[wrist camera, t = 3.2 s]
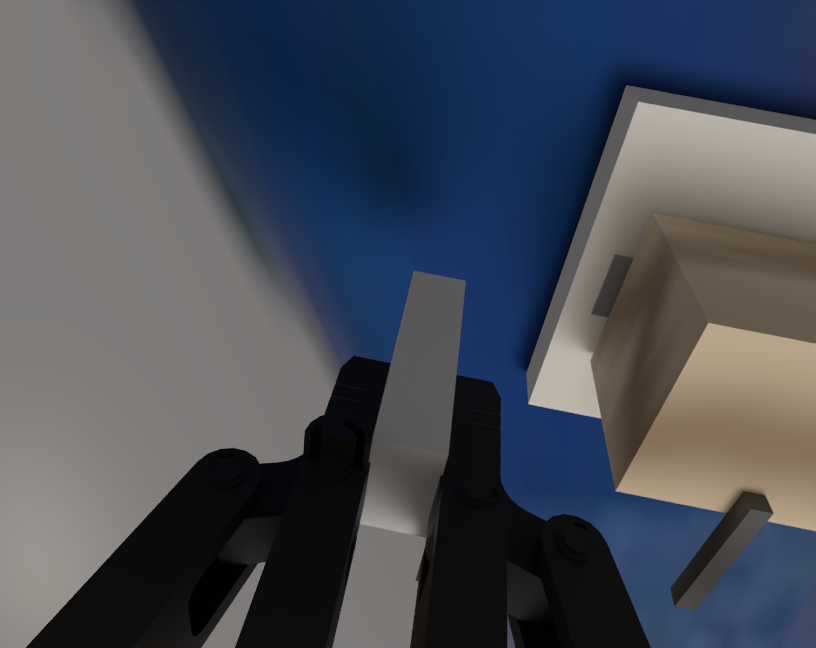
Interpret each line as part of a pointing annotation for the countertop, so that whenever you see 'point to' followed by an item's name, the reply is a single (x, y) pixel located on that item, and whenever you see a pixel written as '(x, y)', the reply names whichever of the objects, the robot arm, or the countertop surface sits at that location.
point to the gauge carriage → (714, 383)
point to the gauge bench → (667, 213)
